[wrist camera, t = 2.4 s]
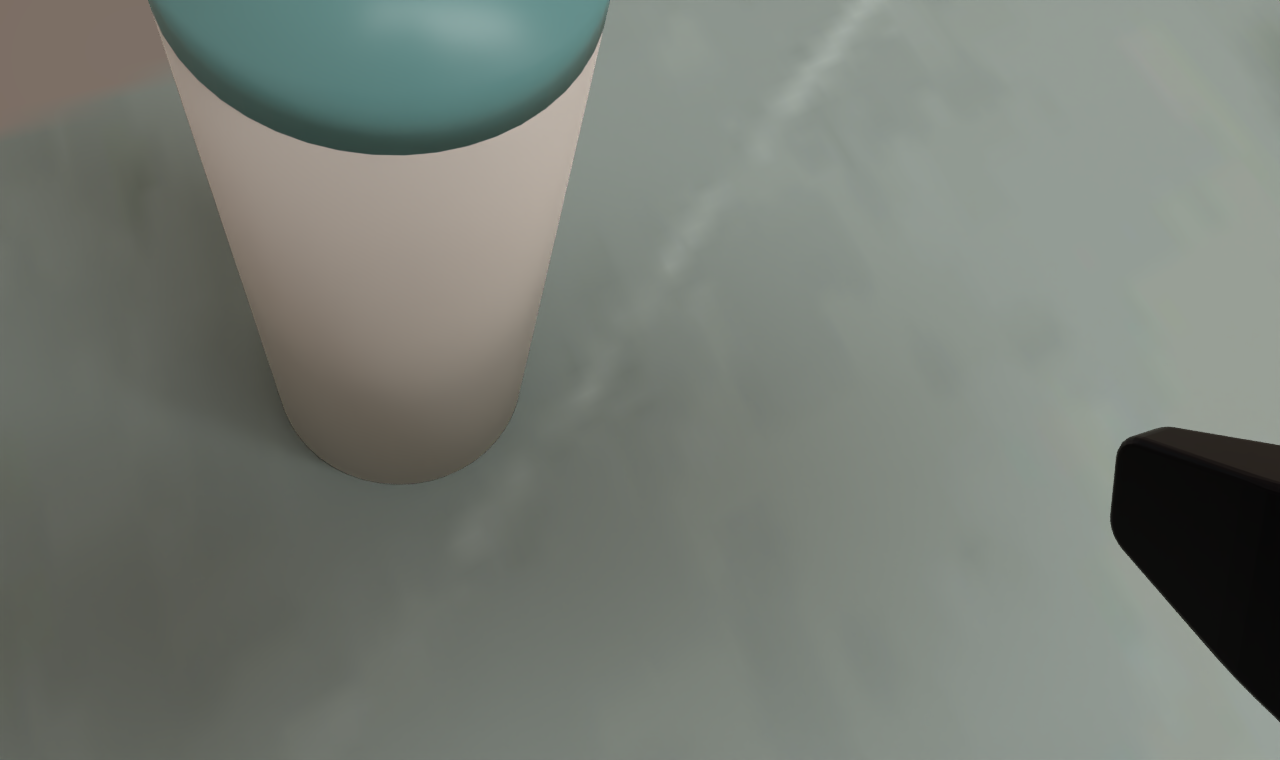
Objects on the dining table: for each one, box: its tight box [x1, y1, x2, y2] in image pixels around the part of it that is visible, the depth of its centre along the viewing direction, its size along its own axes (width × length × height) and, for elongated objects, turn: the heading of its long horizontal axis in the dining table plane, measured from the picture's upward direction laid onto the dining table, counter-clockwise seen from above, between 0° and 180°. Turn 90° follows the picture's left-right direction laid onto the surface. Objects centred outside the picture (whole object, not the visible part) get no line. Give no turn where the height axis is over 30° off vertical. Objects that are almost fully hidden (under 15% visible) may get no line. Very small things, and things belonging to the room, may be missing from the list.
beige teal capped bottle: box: [148, 0, 610, 485], centre depth 17 cm, size 5×5×13 cm
